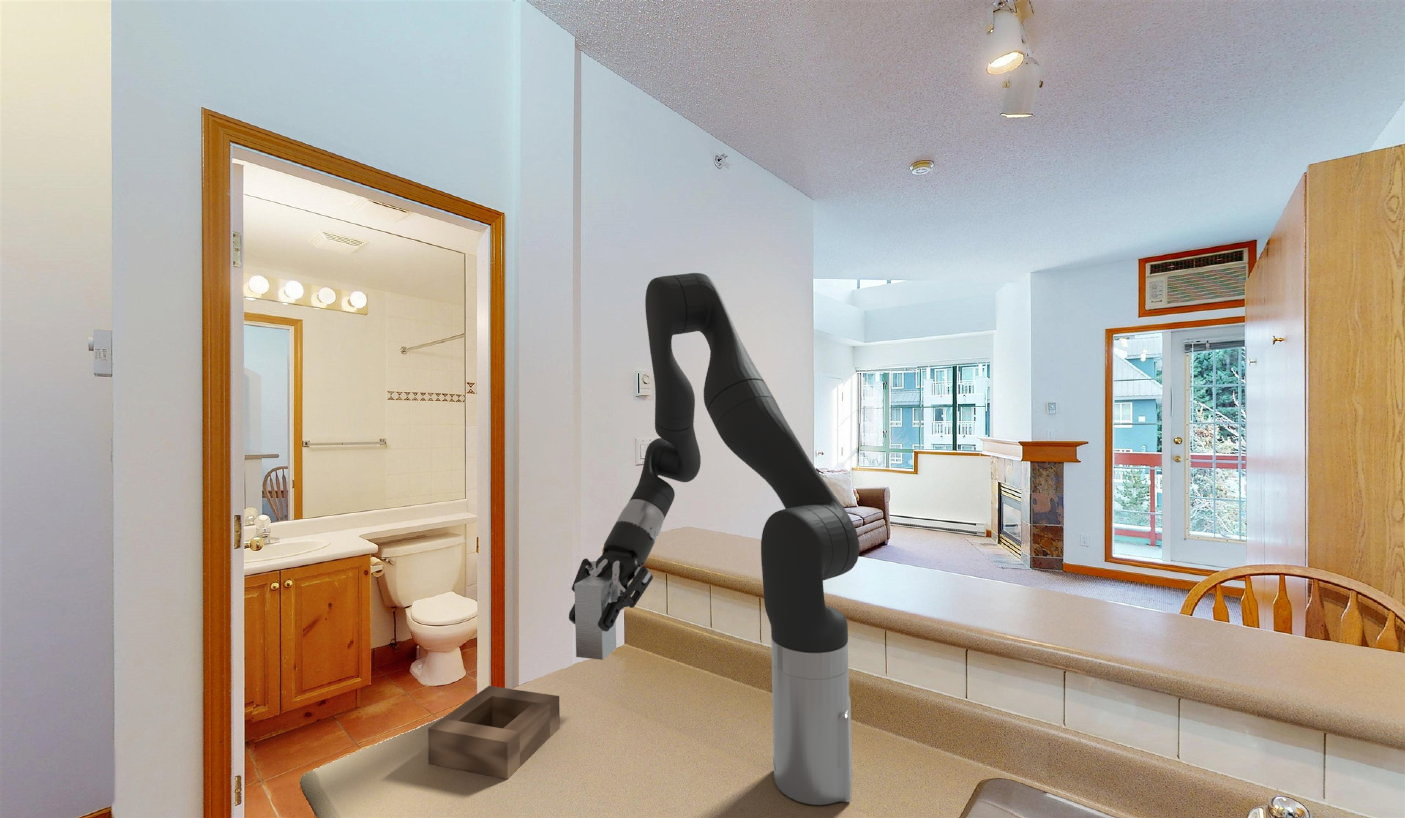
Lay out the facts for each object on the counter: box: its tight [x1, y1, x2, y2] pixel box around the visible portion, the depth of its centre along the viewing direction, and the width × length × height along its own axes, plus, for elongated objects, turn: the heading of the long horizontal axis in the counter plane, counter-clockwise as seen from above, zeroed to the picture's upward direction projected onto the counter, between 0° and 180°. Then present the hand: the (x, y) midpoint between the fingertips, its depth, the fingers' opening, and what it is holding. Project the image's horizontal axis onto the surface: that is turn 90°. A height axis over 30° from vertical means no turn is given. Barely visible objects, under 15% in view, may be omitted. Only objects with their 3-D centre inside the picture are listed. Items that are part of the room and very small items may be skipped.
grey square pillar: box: [574, 576, 617, 661], centre depth 87 cm, size 4×4×11 cm
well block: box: [427, 685, 561, 780], centre depth 77 cm, size 12×12×4 cm
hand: (587, 625), depth 85 cm, fingers closed on grey square pillar, 5 cm apart
